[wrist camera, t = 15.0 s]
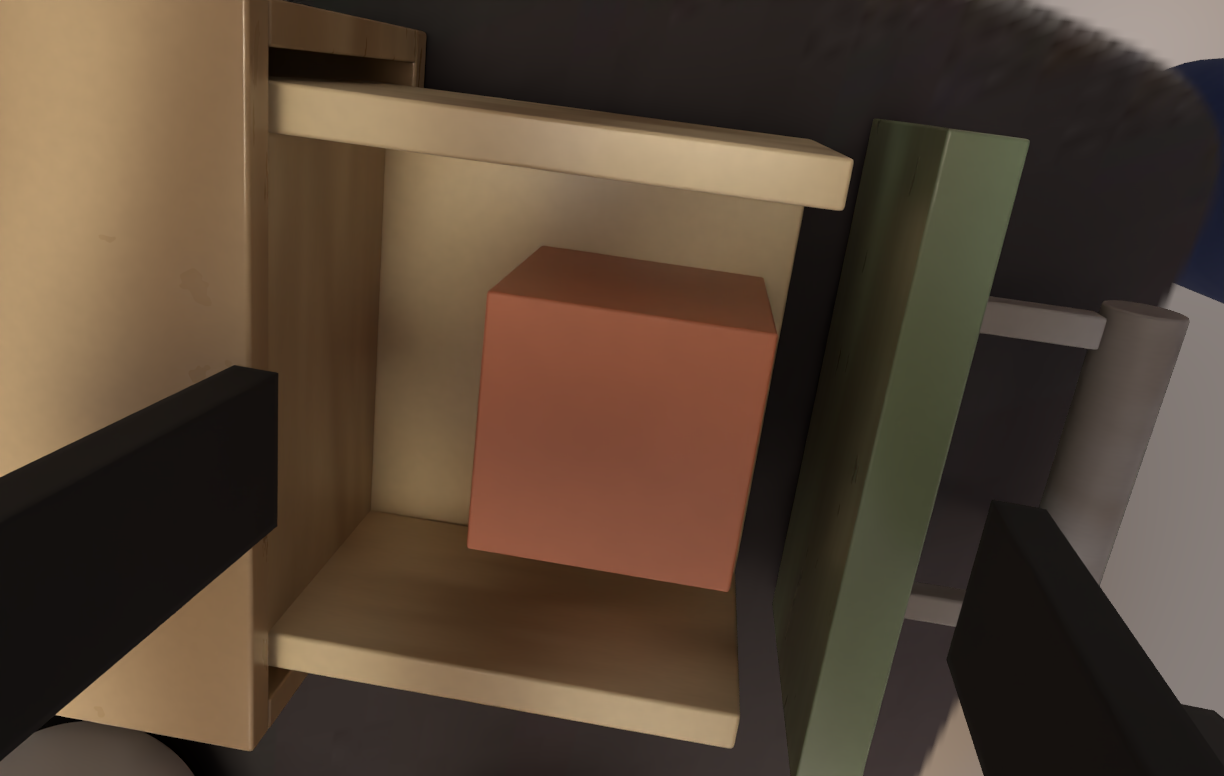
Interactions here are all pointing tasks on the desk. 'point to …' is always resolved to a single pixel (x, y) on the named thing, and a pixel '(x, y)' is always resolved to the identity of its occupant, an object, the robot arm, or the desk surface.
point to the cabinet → (155, 274)
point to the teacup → (92, 753)
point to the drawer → (838, 432)
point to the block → (620, 415)
